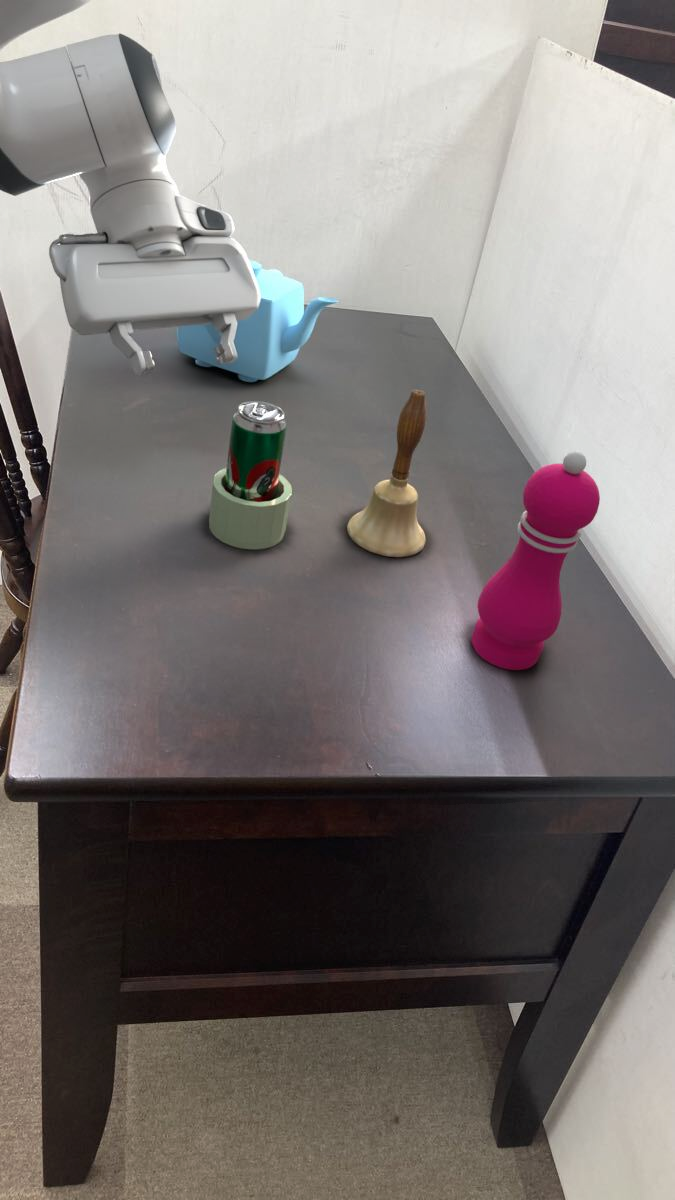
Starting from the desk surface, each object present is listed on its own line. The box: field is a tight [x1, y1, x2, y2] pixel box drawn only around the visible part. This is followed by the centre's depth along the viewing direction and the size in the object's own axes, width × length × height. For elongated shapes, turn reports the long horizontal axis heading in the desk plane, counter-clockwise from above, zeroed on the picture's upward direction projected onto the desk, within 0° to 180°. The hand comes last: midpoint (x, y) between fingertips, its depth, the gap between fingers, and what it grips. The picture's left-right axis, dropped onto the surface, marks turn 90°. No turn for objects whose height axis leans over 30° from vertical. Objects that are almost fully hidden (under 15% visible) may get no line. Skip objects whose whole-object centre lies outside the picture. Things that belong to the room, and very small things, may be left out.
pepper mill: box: [471, 450, 601, 671], centre depth 75 cm, size 7×7×20 cm
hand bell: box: [346, 389, 427, 558], centre depth 88 cm, size 8×8×16 cm
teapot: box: [176, 259, 339, 383], centre depth 117 cm, size 18×16×14 cm
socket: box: [208, 467, 293, 551], centre depth 88 cm, size 8×8×5 cm
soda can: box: [224, 400, 288, 502], centre depth 85 cm, size 5×5×12 cm
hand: (188, 366), depth 88 cm, fingers open, 8 cm apart
